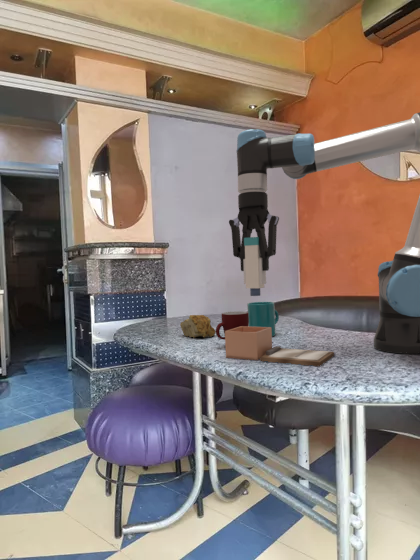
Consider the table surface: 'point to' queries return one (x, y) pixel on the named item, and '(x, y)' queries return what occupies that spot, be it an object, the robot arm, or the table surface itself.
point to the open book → (296, 356)
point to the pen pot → (248, 342)
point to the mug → (232, 321)
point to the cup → (262, 315)
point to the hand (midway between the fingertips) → (255, 283)
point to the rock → (197, 326)
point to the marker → (252, 265)
